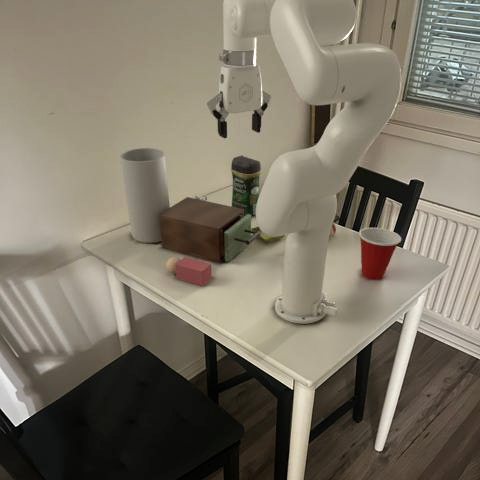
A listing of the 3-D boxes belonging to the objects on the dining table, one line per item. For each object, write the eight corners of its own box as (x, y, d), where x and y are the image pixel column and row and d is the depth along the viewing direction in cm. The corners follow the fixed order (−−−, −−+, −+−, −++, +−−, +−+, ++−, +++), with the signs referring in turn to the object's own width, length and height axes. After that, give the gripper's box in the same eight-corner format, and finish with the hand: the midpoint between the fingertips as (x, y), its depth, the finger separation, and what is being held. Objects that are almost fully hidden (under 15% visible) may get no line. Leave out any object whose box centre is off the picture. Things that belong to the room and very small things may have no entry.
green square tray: (264, 245, 147) (264, 239, 146) (249, 234, 153) (249, 228, 152) (288, 238, 151) (288, 232, 149) (272, 228, 157) (272, 222, 155)
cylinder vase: (180, 234, 153) (173, 154, 139) (148, 248, 146) (138, 165, 131) (155, 222, 160) (146, 145, 146) (124, 235, 153) (111, 155, 138)
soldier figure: (195, 223, 162) (182, 200, 168) (204, 228, 166) (191, 206, 172) (212, 207, 160) (198, 184, 166) (220, 213, 164) (207, 190, 170)
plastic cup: (401, 275, 133) (410, 235, 126) (377, 289, 127) (385, 248, 120) (368, 260, 140) (375, 221, 132) (344, 273, 134) (350, 233, 127)
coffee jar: (227, 211, 167) (226, 157, 156) (244, 205, 172) (244, 151, 161) (247, 220, 162) (247, 164, 151) (263, 213, 166) (265, 158, 155)
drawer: (265, 245, 145) (266, 218, 140) (244, 266, 135) (244, 237, 130) (198, 229, 154) (197, 202, 149) (174, 247, 144) (171, 219, 139)
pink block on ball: (212, 278, 132) (211, 263, 129) (203, 286, 129) (202, 271, 126) (172, 267, 137) (171, 252, 134) (163, 274, 134) (161, 259, 131)
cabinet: (243, 242, 149) (243, 209, 142) (219, 263, 138) (218, 228, 132) (189, 229, 156) (187, 196, 150) (162, 248, 146) (158, 214, 140)
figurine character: (306, 256, 144) (341, 236, 151) (306, 234, 140) (342, 214, 146) (291, 248, 149) (325, 229, 155) (290, 226, 144) (325, 207, 150)
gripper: (214, 64, 107) (216, 143, 117) (279, 57, 114) (276, 133, 124) (199, 59, 112) (202, 135, 123) (262, 53, 119) (260, 125, 129)
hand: (239, 134), depth 123 cm, fingers open, 9 cm apart
